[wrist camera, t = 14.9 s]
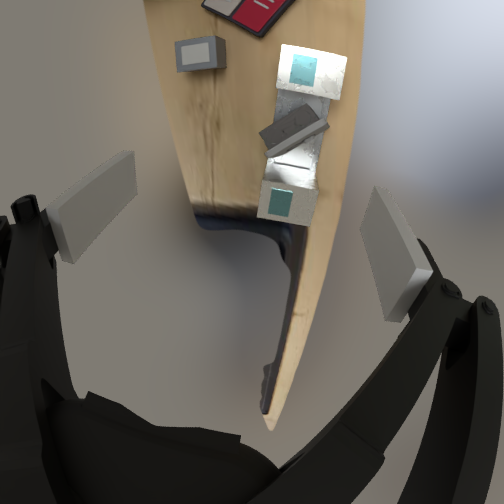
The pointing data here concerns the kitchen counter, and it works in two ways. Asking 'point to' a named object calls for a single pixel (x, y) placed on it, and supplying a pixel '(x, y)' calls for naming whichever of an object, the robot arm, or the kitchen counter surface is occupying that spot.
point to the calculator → (249, 12)
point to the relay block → (200, 54)
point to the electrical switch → (292, 131)
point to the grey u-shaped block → (305, 155)
